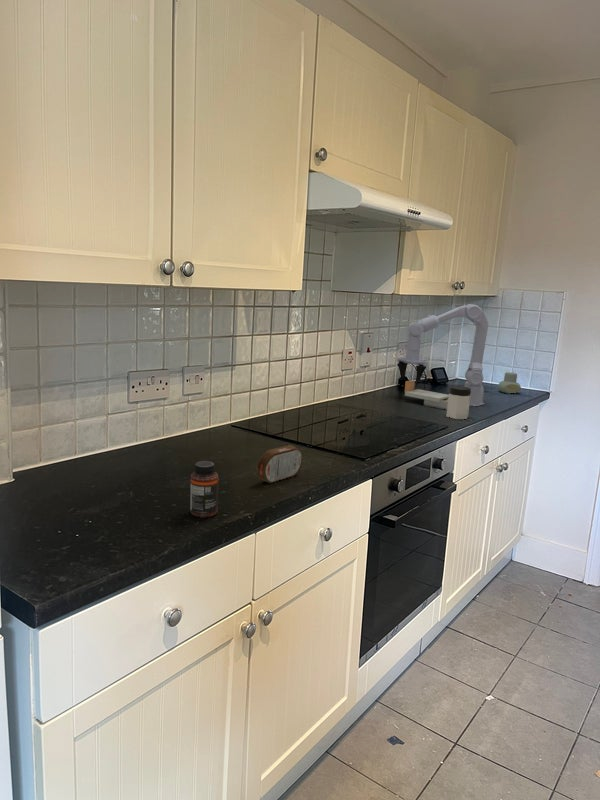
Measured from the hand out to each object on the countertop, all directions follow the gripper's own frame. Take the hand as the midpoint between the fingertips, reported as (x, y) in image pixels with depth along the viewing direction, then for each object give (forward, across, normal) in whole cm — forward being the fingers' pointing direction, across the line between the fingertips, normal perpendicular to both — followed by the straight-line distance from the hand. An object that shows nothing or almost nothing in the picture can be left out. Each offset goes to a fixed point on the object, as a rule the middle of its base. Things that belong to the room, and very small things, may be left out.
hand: (410, 380), depth 269 cm
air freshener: (+9, +21, +62) cm, 66 cm away
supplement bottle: (+9, +38, -153) cm, 158 cm away
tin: (+9, +34, -124) cm, 129 cm away
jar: (+9, +30, -14) cm, 35 cm away
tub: (+9, +18, 0) cm, 20 cm away
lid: (+6, +8, 0) cm, 10 cm away
